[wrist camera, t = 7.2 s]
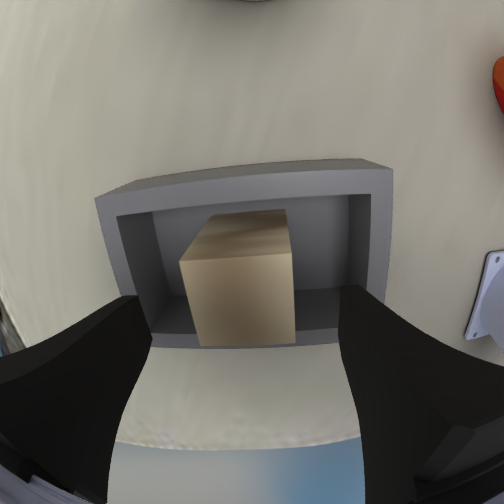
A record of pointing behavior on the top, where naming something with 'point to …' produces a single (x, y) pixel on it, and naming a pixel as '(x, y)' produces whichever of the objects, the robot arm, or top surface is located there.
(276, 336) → the birch block
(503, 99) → the paper cup
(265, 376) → the top surface
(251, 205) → the grey rectangular open box
